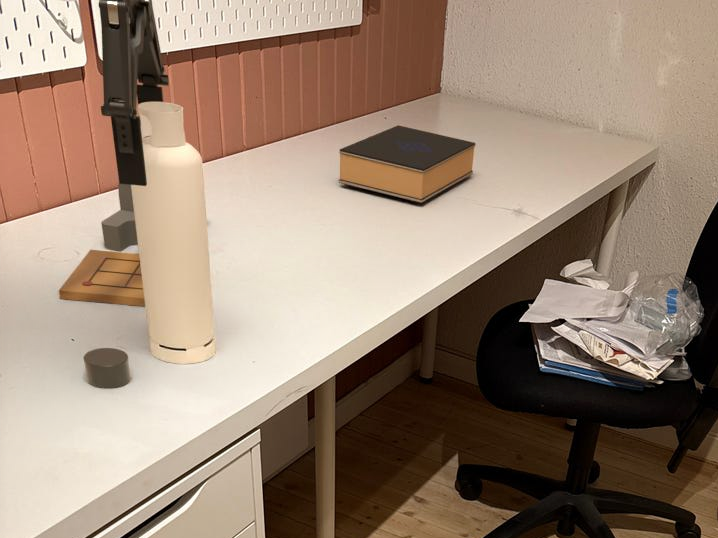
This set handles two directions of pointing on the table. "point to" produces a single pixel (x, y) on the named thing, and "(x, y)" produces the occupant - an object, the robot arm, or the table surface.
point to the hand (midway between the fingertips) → (144, 166)
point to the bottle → (173, 239)
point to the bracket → (121, 223)
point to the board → (106, 279)
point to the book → (406, 163)
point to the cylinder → (107, 367)
